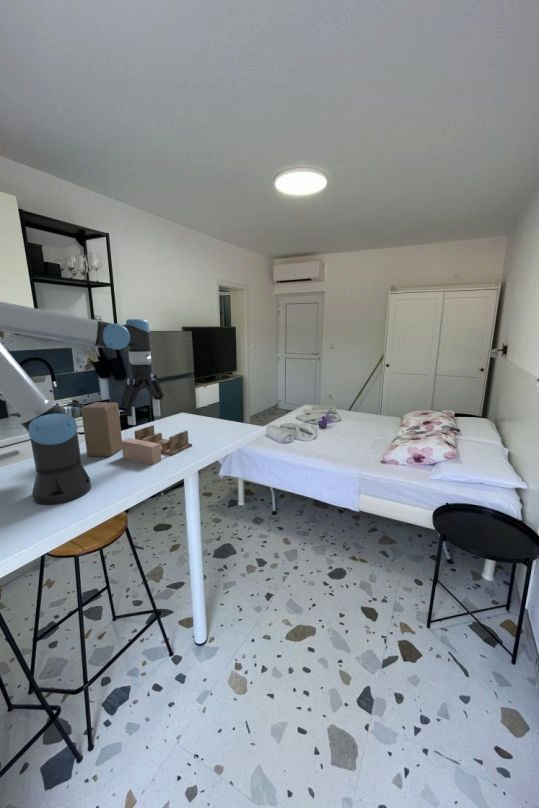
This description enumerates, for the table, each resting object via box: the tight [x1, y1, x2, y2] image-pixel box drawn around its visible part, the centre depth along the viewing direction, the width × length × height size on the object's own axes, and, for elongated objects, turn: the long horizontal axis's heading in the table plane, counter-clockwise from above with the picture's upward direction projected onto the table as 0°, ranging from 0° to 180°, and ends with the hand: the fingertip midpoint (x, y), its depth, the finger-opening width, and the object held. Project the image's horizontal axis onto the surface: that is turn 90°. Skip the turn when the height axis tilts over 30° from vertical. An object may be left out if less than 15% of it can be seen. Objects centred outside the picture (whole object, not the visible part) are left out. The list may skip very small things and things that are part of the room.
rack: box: [134, 424, 193, 456], centre depth 140 cm, size 12×22×7 cm, turn 64°
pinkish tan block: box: [121, 437, 162, 466], centre depth 127 cm, size 4×16×7 cm, turn 64°
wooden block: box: [80, 401, 123, 458], centre depth 132 cm, size 10×10×20 cm
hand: (145, 420), depth 124 cm, fingers open, 13 cm apart
